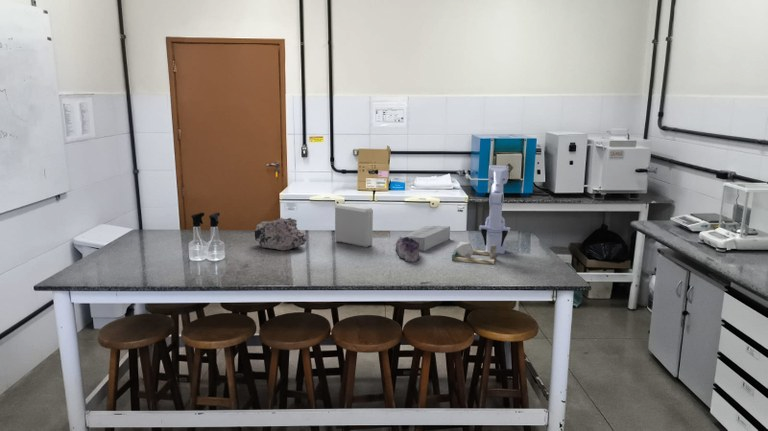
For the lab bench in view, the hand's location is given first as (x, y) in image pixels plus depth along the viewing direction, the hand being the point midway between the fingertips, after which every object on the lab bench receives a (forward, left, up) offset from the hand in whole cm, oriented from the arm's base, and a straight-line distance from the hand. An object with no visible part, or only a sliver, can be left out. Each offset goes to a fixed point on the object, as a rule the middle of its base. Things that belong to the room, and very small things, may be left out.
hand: (493, 245), depth 269 cm
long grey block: (+37, -20, -8) cm, 43 cm away
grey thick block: (+72, -8, -7) cm, 73 cm away
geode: (+40, +7, -8) cm, 41 cm away
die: (+14, +2, -7) cm, 16 cm away
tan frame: (+9, 0, -7) cm, 11 cm away
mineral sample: (+106, +9, -7) cm, 107 cm away
